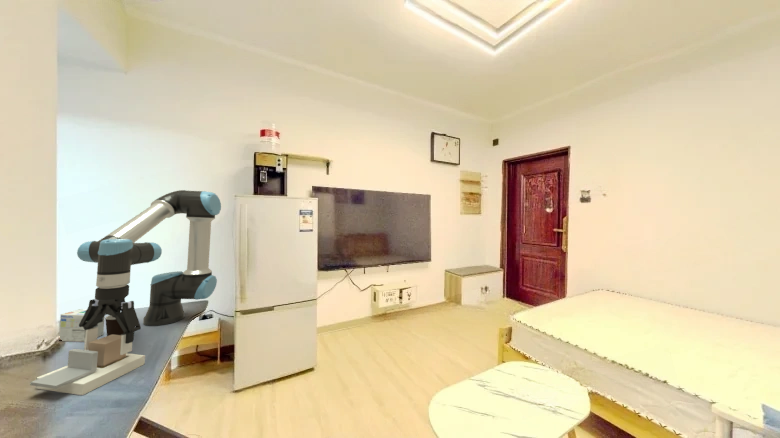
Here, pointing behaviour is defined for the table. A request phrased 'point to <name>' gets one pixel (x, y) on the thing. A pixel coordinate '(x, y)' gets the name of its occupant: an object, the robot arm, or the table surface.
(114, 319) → the coffee mug
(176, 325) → the table surface
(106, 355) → the plug
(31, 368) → the table surface
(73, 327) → the light bulb box
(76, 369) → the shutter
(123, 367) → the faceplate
